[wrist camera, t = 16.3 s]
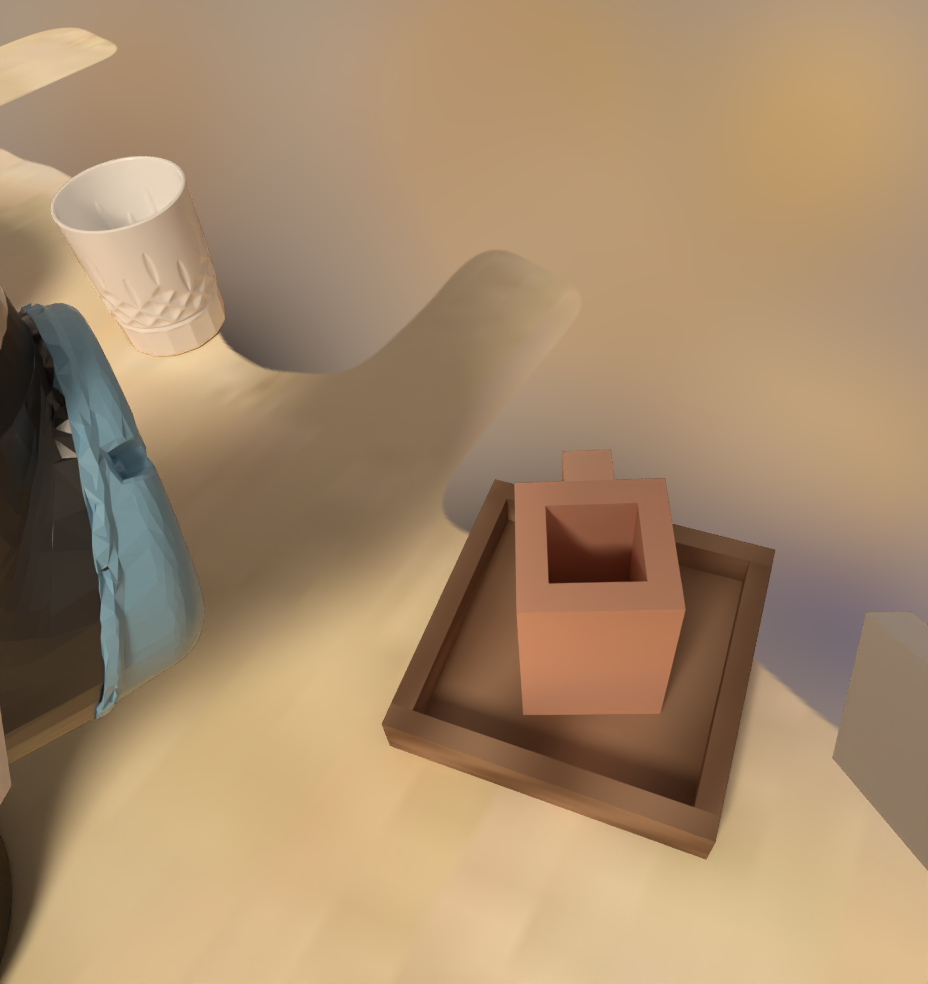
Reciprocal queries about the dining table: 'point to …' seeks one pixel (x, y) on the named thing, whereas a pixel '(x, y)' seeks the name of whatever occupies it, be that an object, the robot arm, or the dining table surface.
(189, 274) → the white cup
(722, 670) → the tray
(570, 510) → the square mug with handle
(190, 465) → the dining table surface
